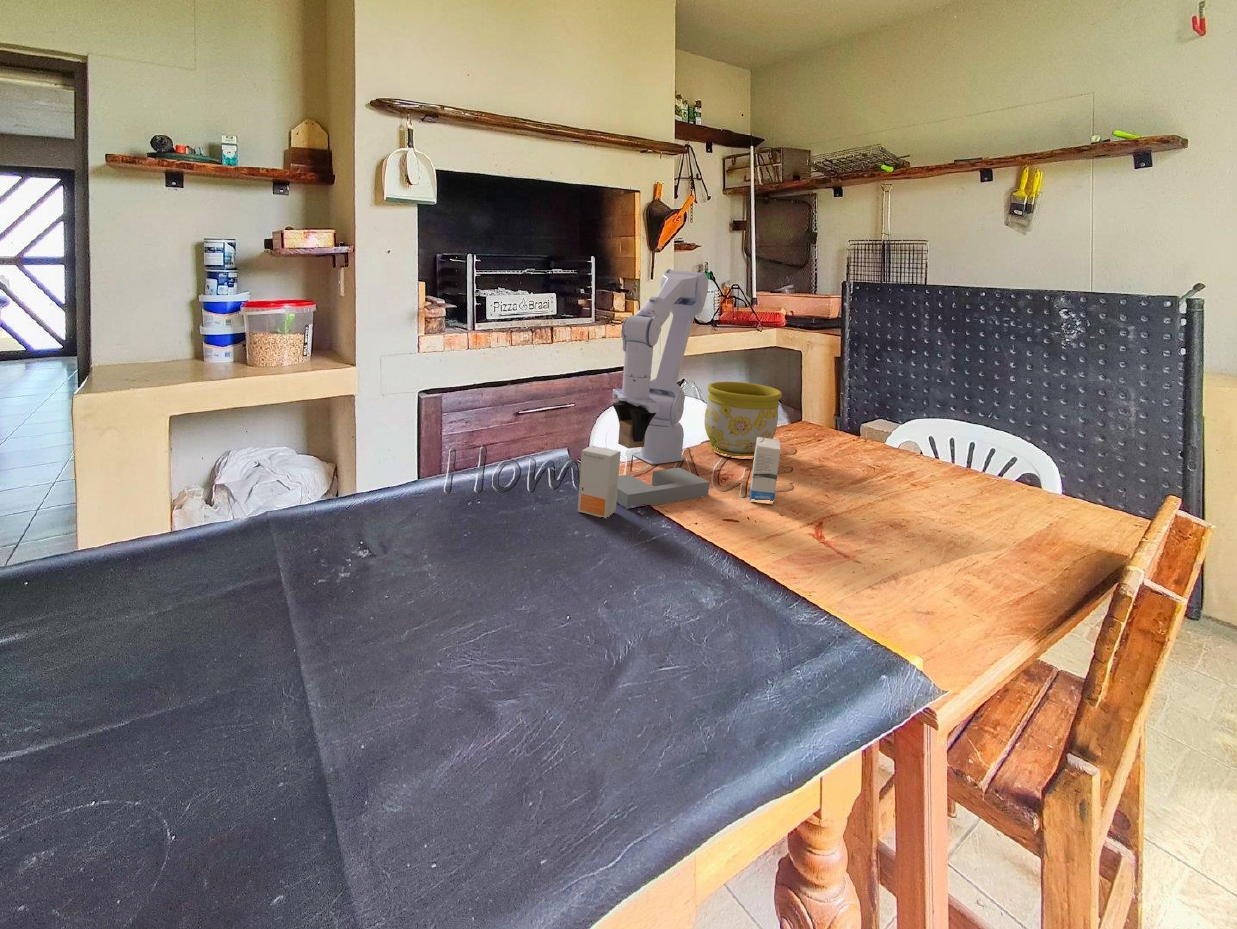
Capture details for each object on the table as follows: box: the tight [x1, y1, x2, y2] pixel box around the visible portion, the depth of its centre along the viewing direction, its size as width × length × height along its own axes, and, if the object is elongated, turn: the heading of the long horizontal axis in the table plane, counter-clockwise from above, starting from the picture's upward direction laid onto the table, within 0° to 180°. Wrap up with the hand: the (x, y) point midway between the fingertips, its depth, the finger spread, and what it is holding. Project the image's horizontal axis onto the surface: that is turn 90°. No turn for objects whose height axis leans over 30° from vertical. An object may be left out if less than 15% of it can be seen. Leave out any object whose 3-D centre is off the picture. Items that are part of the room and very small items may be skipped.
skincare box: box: [577, 445, 622, 519], centre depth 124 cm, size 6×4×12 cm
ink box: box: [749, 437, 782, 501], centre depth 139 cm, size 9×5×12 cm, turn 168°
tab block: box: [617, 420, 645, 449], centre depth 146 cm, size 4×4×5 cm
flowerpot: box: [704, 381, 783, 456], centre depth 170 cm, size 18×18×16 cm
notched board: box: [616, 467, 711, 507], centre depth 138 cm, size 20×10×3 cm, turn 123°
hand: (631, 438), depth 146 cm, fingers closed on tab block, 4 cm apart
